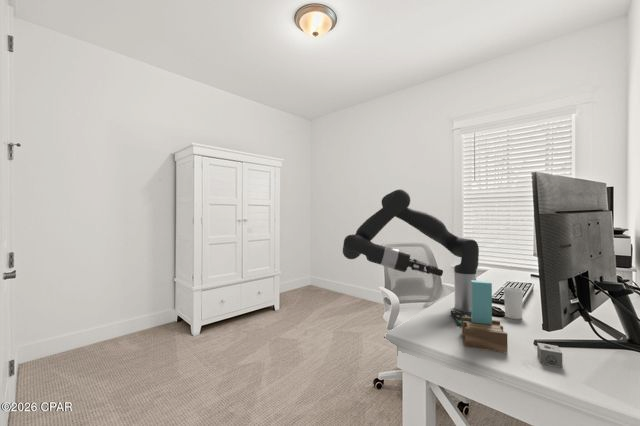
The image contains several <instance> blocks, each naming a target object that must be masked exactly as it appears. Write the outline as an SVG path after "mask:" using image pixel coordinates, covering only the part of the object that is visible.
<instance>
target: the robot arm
mask: <svg viewBox="0 0 640 426" xmlns="http://www.w3.org/2000/svg"><path fill="white" fill-rule="evenodd" d="M410 204H411V197H410V194H409V193H408V192H407V191H406V190H404V189H396V190H393V191H391V192H390V193H387V194H385V195H384V196H383V197H382V199H381V208H380V209H378V210H377V211H376V212H375V213H373V215H371V216H370V217H368V218H367V219H365V221H364V222H363V223H362V224H361V225H360V226H359V227H358V228H357V229H356V232H355V234H349V235H347V236H345V238H344V240H343V246H342V254H343V256H344V257H345V258H346V259H348V260H356V259H357V258H359V257H360V256H361V255H364V256H365V258H366V260H367V261H368V262H370V263H374V264H377V265H380V266H383V267H385V268H387V269H392V270H395V271H398V272H402V273H406V272H407V271H408V268H410V269H411V270H412V271H415V272H420V273H423V274H424V273H426V274H427V275H431V274H432V275H436V276H438V277H442V276H443V273H444V270H443V269H440V268H438V267H437V266H434V265H430V264H427V263H426V262H424V261H421V260H419V259H415V258H413V259H412V258H411V253H410V252H407V251H404V250H402V249H397V248H393V247H388V246H384V245H380V244H378V243H377V244H376V243H374V242H373V239H374V238H375V237H376V236H377V235H378V234H379V233H380V232H381V231H382V230H383V229H384V227H386V225H387V224H388V223H390V221H391V220H393V219H394V218H398V219H400V220H401V221H403V222H405V223H407V224H408V225H410V226H411V227H413V228H415V229H416V230H418V232H420V233H422V234H424V235H425V236H427V237H428V238H430V239H431V240H433V241H435V242H437V244H440V245H441V246H443V247H444V248H445V249H446V250H448V251H449V252H450V254H453V255H454V256H456V257H458V258H461V259H460V263H459V264H456V265H455V266H454V270H453V272H454V309H455V310H457V311H459V312H471V280H477V270H478V266H479V257H480V256H479V255H480V254H479V253H480V252H479V251H480V249H479V244H478V242H477V241H476V240H475V239H472V238H464V237H460V236H456V235H455V234H453V233H452V232H450V231H449V230H448V228H447V227H446V225H445V224H444V222H443V221H442V220H441V219H439V218H437V217H436V216H434V215H433V214H431V213H428V212H426V211H421V210H417V209H413V208H411V207H409V206H410Z"/></svg>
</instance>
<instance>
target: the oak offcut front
mask: <svg viewBox="0 0 640 426" xmlns="http://www.w3.org/2000/svg"><path fill="white" fill-rule="evenodd" d="M467 328H475V329H483V330H490V331H498V332H504V330H503V331H502V329H494V328H486V327H478V326H470V325H467Z"/></svg>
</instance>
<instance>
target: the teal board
mask: <svg viewBox="0 0 640 426" xmlns="http://www.w3.org/2000/svg"><path fill="white" fill-rule="evenodd" d="M492 286H493V284H492V282H491V281H488V280H477V279H476V280H471V322H475V323H484V324H492V320H493V303H492V302H493V293H492V292H493V289H492Z"/></svg>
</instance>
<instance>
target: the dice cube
mask: <svg viewBox="0 0 640 426" xmlns="http://www.w3.org/2000/svg"><path fill="white" fill-rule="evenodd" d="M536 344H537V346H536V347H537V350H536V351H537V352H536V353H537V355H536V356H537V358H538V361H539V363H540V365H541V364H542V365H545V366H546V365H547V366H550V367H551V366H552V367H557V368H561V369H562V368H563V352H562V350H561V349H560V347H559V346H558V345H556V344H555V345H554V344H547V343H543V342H542V343H541V342H536Z"/></svg>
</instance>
